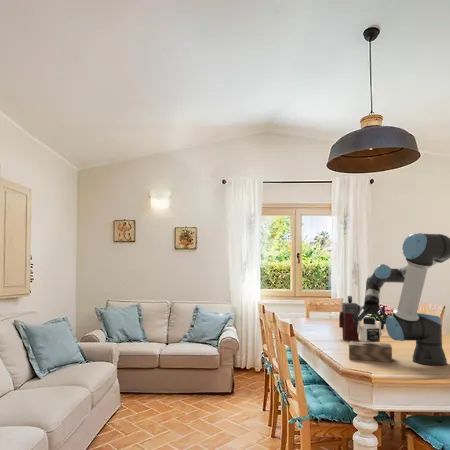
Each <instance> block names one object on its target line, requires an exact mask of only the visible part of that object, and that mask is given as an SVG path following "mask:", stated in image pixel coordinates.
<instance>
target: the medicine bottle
mask: <svg viewBox="0 0 450 450" xmlns="http://www.w3.org/2000/svg"><path fill="white" fill-rule="evenodd" d="M362 320H363V321H362V322H363V325H360V334H359V340H360V342H367V343H381V336H379V326H377V318H375V317H374V316H373V317H372V316H365V317H364V318H363V319H362ZM376 326H377V327H376Z"/></svg>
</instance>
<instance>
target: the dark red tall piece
mask: <svg viewBox="0 0 450 450" xmlns="http://www.w3.org/2000/svg"><path fill="white" fill-rule="evenodd" d="M358 305H359V304H358V303H356V302H353V296H352V295H348V296H347V302H342V303H341V310H342V311H340V312H339V316H338V321H339V324H338V325H339V328H340V329H341V330H342V339H343V341H349V342H350V341H354V342H360V341H359V340H360V334H358V332H357V329H358V328H356V322H353V317H354V315H355V313H356V311H357V309H358Z"/></svg>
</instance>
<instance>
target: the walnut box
mask: <svg viewBox="0 0 450 450" xmlns="http://www.w3.org/2000/svg"><path fill="white" fill-rule="evenodd" d="M392 349H393V347H392V345H391V343H384V342H383V343H382V342H369V343H367V342H364V341H349V344H348V359H349V360H354V359H355V360H354V361H356V360H357V361H367V362H370V361H371V362H382V363H393V350H392Z"/></svg>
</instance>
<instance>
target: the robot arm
mask: <svg viewBox="0 0 450 450" xmlns="http://www.w3.org/2000/svg"><path fill="white" fill-rule="evenodd" d="M402 254H403V256H404V257H405V261H406V262H407V263H406V264H404V265H403V266H401V267H399V268H391V267H390V266H388V265H386V264H379V265H377V267H376V268H375V269H374V271H373V273H372V274H371V275H368V276H367V278H366V281H365V282H366V283H365V292H364V303H363V306H361V305H360V304H358V309H357V311H356V313H355V315H354V317H353V322H356V328H358V329H357V332H358V334H359V335H360V326H361V321H362V320H363V318H365V317H367V316H368V315H375V317H376V319H378V321H379V326H378V328H379V336H380V337H381V336H382V330H385V328H386V332H387V334H388V337H390V338H391V340H393V341H400V342H405V341H406V342H407V341H408V342H409V341H415V347H414V350H413V355H412V361H413V362H414V363H416V364H420V365H428V366H445V365H447V364H448V361H447V360H448V359H447V357H446V354H445V351H444V348H443V334H442V331H443V330H442V326H443V324H442V319H441V317H440V316H438V315H434V314H433V315H432V314H426V313H418V310H419V305H420V302H421V297H422V294H423V288H424V285H425V282H426V277H427V273H428V269H430V268H431V267H433V266H435V265H436V264H442V263H444V262H446V261H448V260H449V259H450V237H449V236H448V235H445V234H441V233H437V234H436V233H423V232H422V233H421V232H418V233H410V234H409V235H407V236H406V237H405V238H404V241H403V244H402ZM385 283H398V284H399V283H403V284H402V289H401V293H400V297H399V303H398V306H397V308H395V309H394V310H393V313H392V315H389V316H387V314H386V307H385V306H382V307H381V306H380V297H381V296H380V295H381V288H382V287H383V286H384V285H385ZM379 311H380V312H381V313H382V316H381V314H380V313H379ZM382 317H383V318H382Z"/></svg>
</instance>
